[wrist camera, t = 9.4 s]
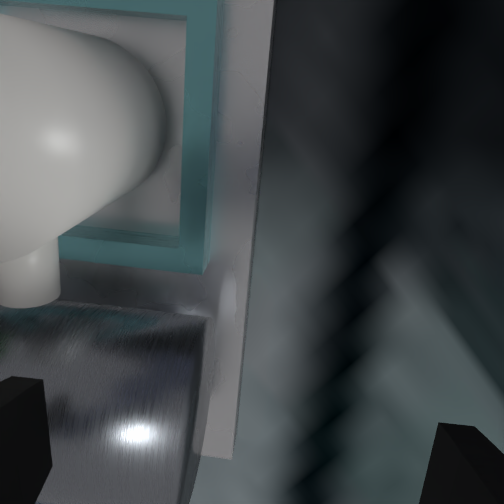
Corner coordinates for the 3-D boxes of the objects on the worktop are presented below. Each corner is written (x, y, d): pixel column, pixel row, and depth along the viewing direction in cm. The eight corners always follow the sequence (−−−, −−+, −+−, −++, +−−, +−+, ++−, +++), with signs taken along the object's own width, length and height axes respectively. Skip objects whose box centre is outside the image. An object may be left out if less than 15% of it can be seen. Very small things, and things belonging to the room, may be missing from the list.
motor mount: (281, -46, 14) (264, -184, 7) (236, 433, 20) (203, 619, 13) (-96, -75, 15) (-461, -227, 8) (-29, 397, 21) (-196, 556, 14)
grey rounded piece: (169, 42, 14) (76, 13, 8) (162, 254, 16) (86, 347, 10) (6, 26, 14) (-193, -14, 8) (23, 236, 16) (-125, 316, 11)
